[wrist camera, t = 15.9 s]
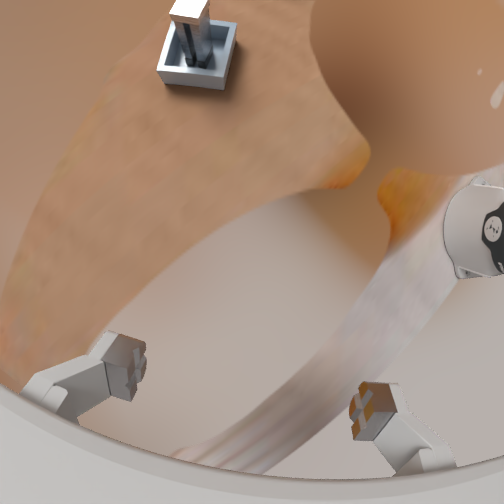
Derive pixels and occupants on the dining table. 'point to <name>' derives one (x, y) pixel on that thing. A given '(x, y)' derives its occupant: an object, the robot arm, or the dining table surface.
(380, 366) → the dining table surface
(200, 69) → the blue-gray square tray
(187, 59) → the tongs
